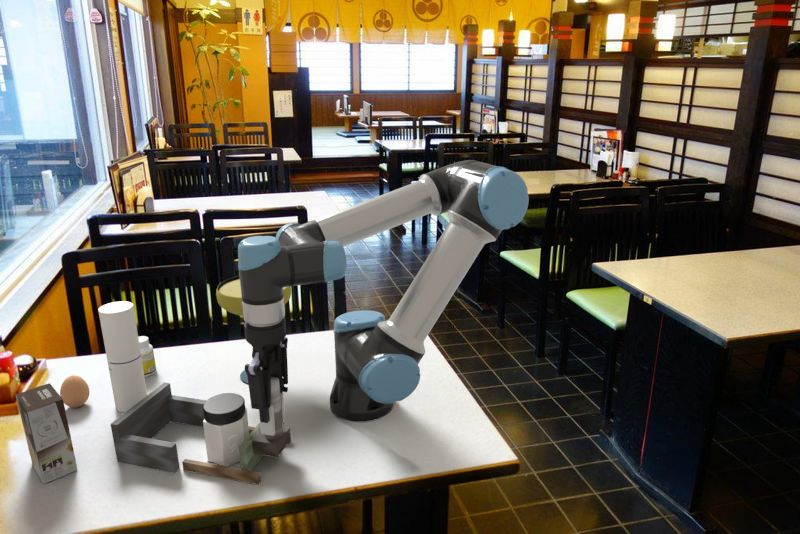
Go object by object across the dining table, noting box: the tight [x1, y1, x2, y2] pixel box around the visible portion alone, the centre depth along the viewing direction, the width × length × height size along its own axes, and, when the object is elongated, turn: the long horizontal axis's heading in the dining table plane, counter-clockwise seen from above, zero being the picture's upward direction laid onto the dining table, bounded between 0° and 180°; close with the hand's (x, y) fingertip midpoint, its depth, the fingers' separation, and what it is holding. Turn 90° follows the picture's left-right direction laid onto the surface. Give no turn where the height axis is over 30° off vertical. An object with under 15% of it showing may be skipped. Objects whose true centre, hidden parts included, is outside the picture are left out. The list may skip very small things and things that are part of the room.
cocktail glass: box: [215, 275, 292, 385], centre depth 150 cm, size 18×18×25 cm
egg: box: [59, 374, 90, 409], centre depth 139 cm, size 6×6×8 cm
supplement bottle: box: [138, 335, 157, 378], centre depth 154 cm, size 5×5×10 cm
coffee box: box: [15, 382, 78, 484], centre depth 116 cm, size 9×6×16 cm
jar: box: [202, 392, 249, 467], centre depth 121 cm, size 9×8×12 cm
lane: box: [110, 382, 292, 485], centre depth 122 cm, size 31×17×9 cm, turn 75°
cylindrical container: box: [97, 300, 148, 413], centre depth 137 cm, size 7×7×25 cm
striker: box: [239, 376, 292, 471], centre depth 117 cm, size 7×11×18 cm, turn 165°
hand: (273, 427), depth 117 cm, fingers closed on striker, 4 cm apart
